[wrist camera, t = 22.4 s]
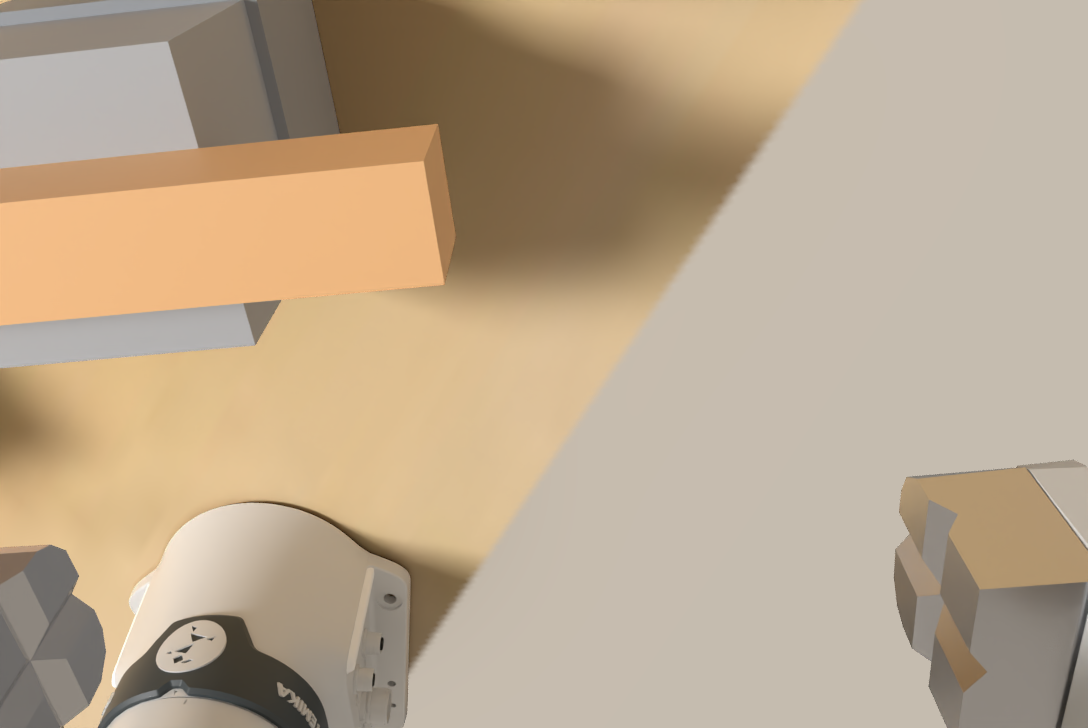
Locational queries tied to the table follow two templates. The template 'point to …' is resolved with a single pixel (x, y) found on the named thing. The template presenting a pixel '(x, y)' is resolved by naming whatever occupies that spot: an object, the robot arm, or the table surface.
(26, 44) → the slate pedestal
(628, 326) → the table surface
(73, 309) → the orange bar
